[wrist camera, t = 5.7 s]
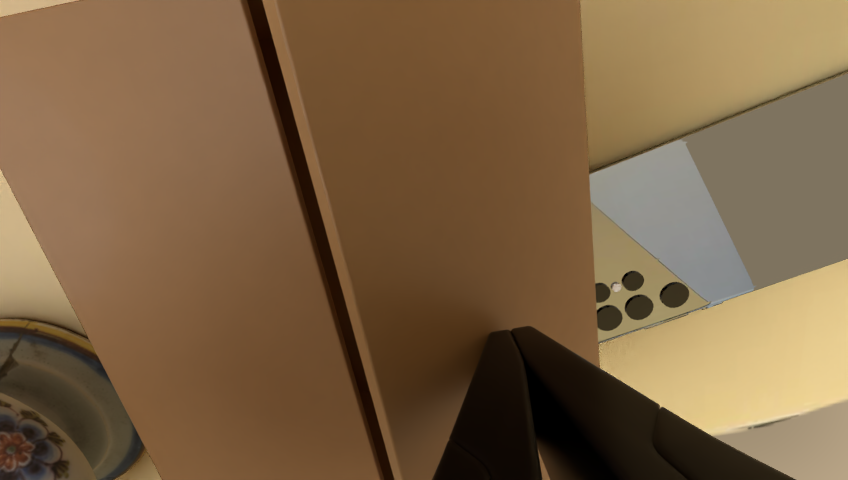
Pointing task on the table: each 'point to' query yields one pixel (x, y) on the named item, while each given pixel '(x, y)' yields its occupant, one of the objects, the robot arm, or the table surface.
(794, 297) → the table surface
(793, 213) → the smartphone
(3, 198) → the table surface
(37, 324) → the apothecary jar
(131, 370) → the carton
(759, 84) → the table surface
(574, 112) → the flap
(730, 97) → the table surface
